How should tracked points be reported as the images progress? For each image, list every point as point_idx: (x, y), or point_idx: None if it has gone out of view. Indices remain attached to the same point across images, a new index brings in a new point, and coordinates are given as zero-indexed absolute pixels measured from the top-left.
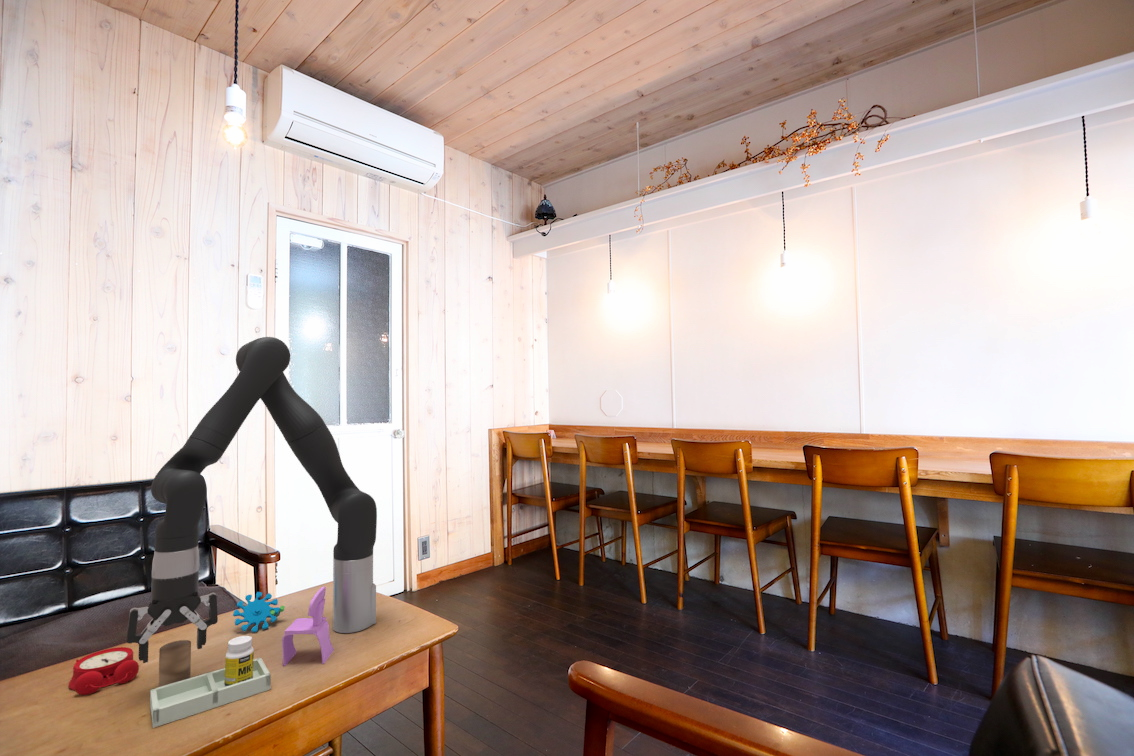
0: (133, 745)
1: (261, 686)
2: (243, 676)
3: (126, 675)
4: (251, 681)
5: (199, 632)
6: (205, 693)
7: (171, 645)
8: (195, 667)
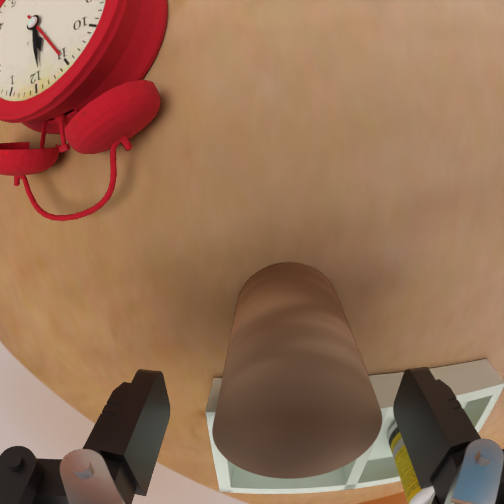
0: (195, 480)
1: None
2: None
3: (112, 173)
4: None
5: (423, 481)
6: (330, 487)
7: (279, 423)
8: (378, 176)
